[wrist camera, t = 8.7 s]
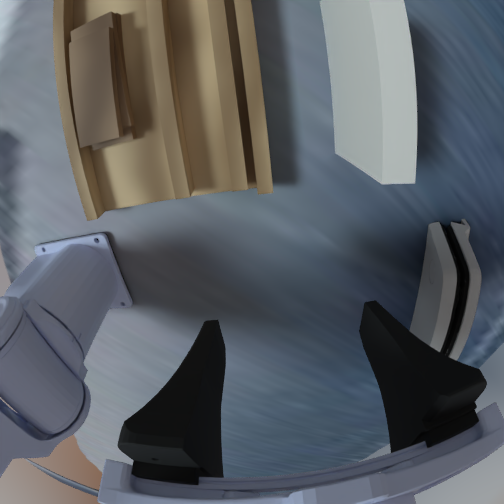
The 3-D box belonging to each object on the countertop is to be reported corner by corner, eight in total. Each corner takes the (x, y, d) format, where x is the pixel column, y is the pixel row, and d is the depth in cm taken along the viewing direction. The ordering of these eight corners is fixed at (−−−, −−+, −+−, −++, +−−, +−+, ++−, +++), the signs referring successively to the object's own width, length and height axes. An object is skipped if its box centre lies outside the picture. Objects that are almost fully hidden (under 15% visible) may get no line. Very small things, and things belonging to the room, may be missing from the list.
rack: (99, 209, 21) (85, 222, 19) (68, -5, 11) (52, -11, 9) (270, 183, 20) (273, 194, 18) (239, -55, 10) (239, -71, 8)
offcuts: (95, 149, 18) (82, 155, 16) (79, 32, 13) (65, 28, 11) (140, 136, 17) (129, 141, 16) (125, 13, 12) (113, 6, 11)
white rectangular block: (334, 152, 19) (381, 184, 12) (319, 2, 13) (358, -42, 6) (359, 152, 19) (414, 183, 12) (345, 4, 13) (394, -33, 6)
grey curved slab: (437, 332, 30) (445, 396, 22) (405, 333, 32) (407, 399, 24) (465, 215, 22) (503, 275, 14) (424, 214, 23) (452, 277, 15)
